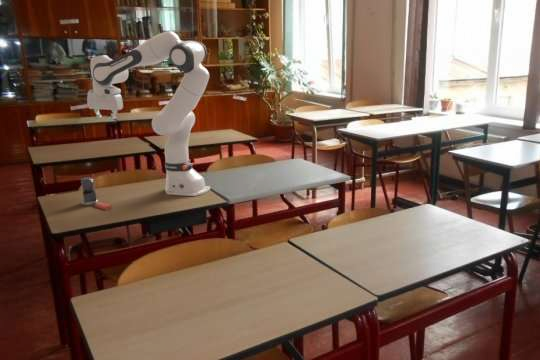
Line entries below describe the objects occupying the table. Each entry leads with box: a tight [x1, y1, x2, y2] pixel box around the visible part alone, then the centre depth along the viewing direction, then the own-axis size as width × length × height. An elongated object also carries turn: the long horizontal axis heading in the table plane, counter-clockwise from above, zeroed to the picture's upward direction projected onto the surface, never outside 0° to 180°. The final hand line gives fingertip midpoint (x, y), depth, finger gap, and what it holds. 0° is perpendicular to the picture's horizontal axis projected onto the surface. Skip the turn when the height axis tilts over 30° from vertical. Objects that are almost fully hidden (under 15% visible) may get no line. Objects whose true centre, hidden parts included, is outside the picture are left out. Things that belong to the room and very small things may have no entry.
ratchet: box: [81, 197, 113, 211], centre depth 211 cm, size 18×7×4 cm, turn 53°
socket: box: [80, 176, 97, 203], centre depth 212 cm, size 5×5×10 cm
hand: (106, 118), depth 232 cm, fingers open, 8 cm apart
